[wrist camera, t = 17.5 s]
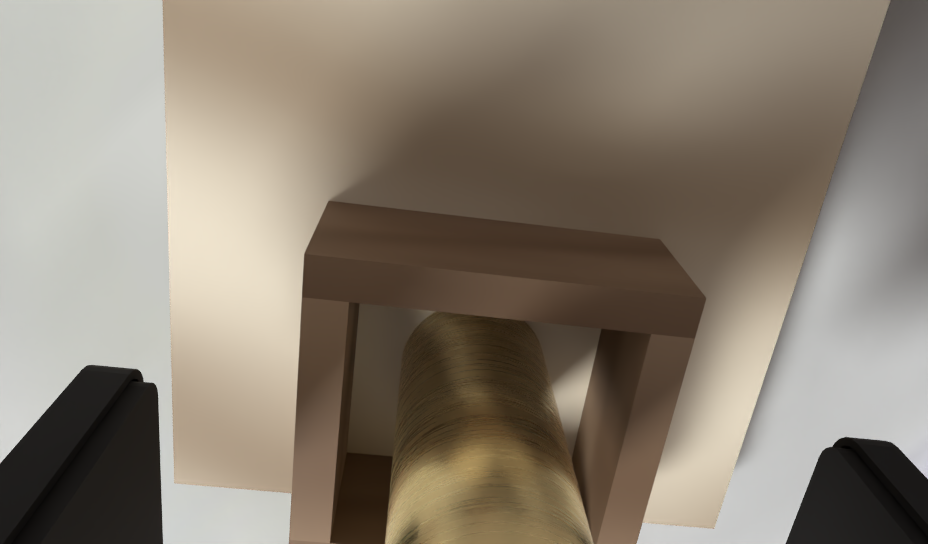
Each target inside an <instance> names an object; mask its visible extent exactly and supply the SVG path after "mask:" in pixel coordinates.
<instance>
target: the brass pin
mask: <svg viewBox="0 0 928 544" xmlns="http://www.w3.org/2000/svg"><path fill="white" fill-rule="evenodd" d="M385 544H594V543H593V540H592V536H591V532H590V528H589V525H588V521H587V517H586V513H585V509H584V506H583V502H582V498H581V494H580V491H579V487H578V483H577V479H576V476H575V472H574V468H573V464H572V460H571V457H570V453H569V449H568V445H567V442H566V438H565V434H564V430H563V426H562V423H561V419H560V415H559V411H558V408H557V404H556V400H555V396H554V393H553V389H552V385H551V381H550V377H549V374H548V370H547V366H546V362H545V359H544V355H543V351H542V348H541V345H540V342H539V340H538V338H537V336H536V334H535V332H534V331H533V330H532V328H531V327H530V326H529V325H528V324H527V323H526V322H525V321H523V320H513V319H504V318H494V317H485V316H475V315H466V314H456V313H446V312H437V311H436V312H434V313H433V314H431V315H430V316H428V317H427V318H426V319H424V320H423V321H422V322H421V323H420V324H419V325H418V326H417V327H416V328H415V329H414V331H413V332H412V334H411V335H410V336H409V338H408V340H407V342H406V345H405V348H404V350H403V355H402V361H401V372H400V383H399V394H398V405H397V416H396V427H395V438H394V449H393V460H392V471H391V482H390V493H389V504H388V515H387V526H386V537H385Z"/></svg>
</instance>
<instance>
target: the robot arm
mask: <svg viewBox="0 0 928 544" xmlns="http://www.w3.org/2000/svg"><path fill="white" fill-rule="evenodd" d="M0 544H163V533H162V503H161V473H160V442H159V412H158V391H157V387H156V385H155V384H154V383H147V382H143V377H142V374H141V372H140V371H139V370H138V369H129V368H118V367H108V366H97V365H88V366H86V367H85V368H84V369H82V370H81V371H80V373H79V374H78V375H77V376H76V377H75V378H74V379H73V381H72V382H71V383H70V384H69V385H68V386H67V388H66V389H65V390H64V391H63V392H62V393H61V394H60V396H59V397H58V398H57V399H56V400H55V401H54V402H53V404H52V405H51V406H50V407H49V408H48V409H47V410H46V412H45V413H44V414H43V415H42V416H41V417H40V419H39V420H38V421H37V422H36V423H35V424H34V425H33V427H32V428H31V429H30V430H29V431H28V432H27V433H26V435H25V436H24V437H23V438H22V439H21V440H20V442H19V443H18V444H17V445H16V446H15V447H14V448H13V450H12V451H11V452H10V453H9V454H8V455H7V456H6V458H5V459H4V460H3V461H2V462H1V463H0ZM786 544H928V479H927V478H926V477H925V476H924V475H923V474H922V473H921V472H920V471H919V470H918V469H917V467H916V466H915V465H914V464H913V463H912V462H911V461H910V460H909V459H908V458H907V457H906V456H905V455H904V454H903V453H902V451H901V450H900V449H899V448H898V447H896V446H895V445H894V444H893V443H891V442H887V441H880V440H870V439H859V438H849V437H844V438H841V439H839V440H838V441H837V442H835V443H834V445H833V447H829V448H826V449H825V450H824V451H822V453H821V455H820V457H819V459H818V462H817V464H816V467H815V469H814V472H813V475H812V477H811V480H810V482H809V485H808V487H807V490H806V493H805V495H804V498H803V500H802V503H801V506H800V508H799V511H798V513H797V516H796V519H795V521H794V524H793V526H792V529H791V532H790V534H789V537H788V539H787V542H786Z"/></svg>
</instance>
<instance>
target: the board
mask: <svg viewBox="0 0 928 544" xmlns="http://www.w3.org/2000/svg"><path fill="white" fill-rule="evenodd" d="M890 1H891V0H163V35H164V77H165V118H166V159H167V200H168V242H169V283H170V324H171V365H172V407H173V448H174V483H177V484H189V485H201V486H213V487H224V488H236V489H248V490H260V491H272V492H284V493H292V496H291V515H290V534H289V544H385V537H386V526H387V515H388V504H389V493H390V482H391V471H392V460H393V449H394V438H395V427H396V416H397V405H398V394H399V383H400V372H401V361H402V355H403V350H404V348H405V345H406V342H407V340H408V338H409V336H410V335H411V334H412V332H413V331H414V329H415V328H416V327H417V326H418V325H419V324H420V323H421V322H422V321H423V320H424V319H426V318H427V317H428V316H430V315H431V314H433V313H434V312H436V311H437V312H446V313H456V314H466V315H475V316H485V317H494V318H504V319H513V320H523V321H525V322H526V323H527V324H528V325H529V326H530V327H531V328H532V330H533V331H534V332H535V334H536V336H537V338H538V340H539V342H540V345H541V348H542V351H543V355H544V359H545V362H546V366H547V370H548V374H549V377H550V381H551V385H552V389H553V393H554V396H555V400H556V404H557V408H558V411H559V415H560V419H561V423H562V426H563V430H564V434H565V438H566V442H567V445H568V449H569V453H570V457H571V460H572V464H573V468H574V472H575V476H576V479H577V483H578V487H579V491H580V494H581V498H582V502H583V506H584V509H585V513H586V517H587V521H588V525H589V528H590V532H591V536H592V540H593V543H594V544H636V543H637V540H638V536H639V533H640V529H641V526H642V523H652V524H664V525H676V526H688V527H700V528H712V529H714V527H715V524H716V521H717V518H718V515H719V512H720V509H721V506H722V503H723V500H724V497H725V494H726V491H727V488H728V485H729V482H730V479H731V476H732V473H733V470H734V467H735V464H736V461H737V458H738V455H739V452H740V449H741V446H742V443H743V440H744V437H745V434H746V431H747V428H748V425H749V422H750V419H751V417H752V414H753V411H754V408H755V405H756V402H757V399H758V396H759V393H760V390H761V387H762V384H763V381H764V378H765V375H766V372H767V369H768V366H769V363H770V360H771V357H772V354H773V351H774V348H775V345H776V342H777V339H778V336H779V333H780V330H781V327H782V324H783V321H784V318H785V315H786V312H787V309H788V306H789V303H790V300H791V297H792V294H793V291H794V288H795V285H796V282H797V279H798V276H799V273H800V270H801V267H802V264H803V261H804V258H805V255H806V252H807V249H808V246H809V243H810V240H811V237H812V234H813V231H814V228H815V225H816V222H817V219H818V216H819V213H820V210H821V207H822V204H823V201H824V198H825V195H826V192H827V189H828V186H829V183H830V180H831V177H832V174H833V171H834V168H835V165H836V162H837V159H838V156H839V153H840V150H841V147H842V144H843V141H844V138H845V135H846V132H847V129H848V126H849V123H850V120H851V117H852V114H853V111H854V108H855V105H856V102H857V99H858V96H859V93H860V90H861V88H862V85H863V82H864V79H865V76H866V73H867V70H868V67H869V64H870V61H871V58H872V55H873V52H874V49H875V46H876V43H877V40H878V37H879V34H880V31H881V28H882V25H883V22H884V19H885V16H886V13H887V10H888V7H889V4H890Z"/></svg>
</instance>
